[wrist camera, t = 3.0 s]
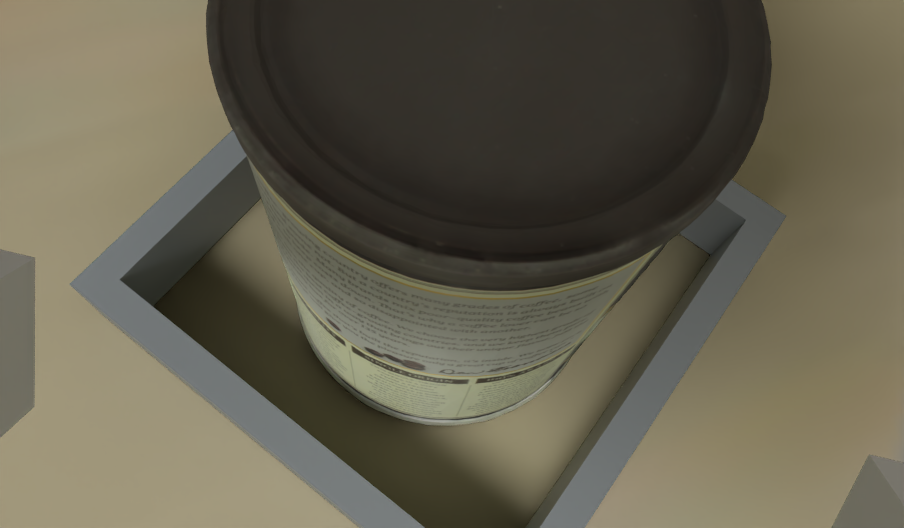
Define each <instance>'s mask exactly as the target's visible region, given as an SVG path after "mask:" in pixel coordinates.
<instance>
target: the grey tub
mask: <svg viewBox="0 0 904 528" xmlns="http://www.w3.org/2000/svg"><path fill="white" fill-rule="evenodd" d="M260 198H261V196H260V193H259V190H258V187H257V184H256V181H255V178H254V175H253V172H252V169H251V167H250V164H249V161H248V158H247V155H246V153H245V152H244V150H243V148H242V147H241V145H240V143H239V141H238V139H237V137H236V135H235V133H234V131H233V130H232V131H231V132H230V133H229V134H228V135H227V136H226V137H225V138H224V139H223V140H221V141H220V142H219V143H218V144H217V145H216V146H215V147H214V148H213V149H212V150H211V151H210V152H209V153H208V154H207V155H206V156H205V157H203V158H202V159H201V160H200V161H199V162H198V163H197V164H196V165H195V166H194V167H193V168H192V169H191V170H190V171H189V172H188V173H187V174H185V175H184V176H183V177H182V178H181V179H180V180H179V181H178V182H177V183H176V184H175V185H174V186H173V187H172V188H171V189H170V190H169V191H168V192H166V193H165V194H164V195H163V196H162V197H161V198H160V199H159V200H158V201H157V202H156V203H155V204H154V205H153V206H152V207H151V208H150V209H148V210H147V211H146V212H145V213H144V214H143V215H142V216H141V217H140V218H139V219H138V220H137V221H136V222H135V223H134V224H133V225H132V226H130V227H129V228H128V229H127V230H126V231H125V232H124V233H123V234H122V235H121V236H120V237H119V238H118V239H117V240H116V241H115V242H114V243H112V244H111V245H110V246H109V247H108V248H107V249H106V250H105V251H104V252H103V253H102V254H101V255H100V256H99V257H98V258H97V259H96V260H95V261H93V262H92V263H91V264H90V265H89V266H88V267H87V268H86V269H85V270H84V271H83V272H82V273H81V274H80V275H79V276H78V277H77V278H75V279H74V280H73V281H72V282H71V283H70V285H71V286H72V287H73V288H74V289H75V290H76V291H77V292H78V293H79V294H80V295H81V296H83V297H84V298H85V299H86V300H87V301H88V302H89V303H90V304H91V305H92V306H93V307H94V308H95V309H97V310H98V311H99V312H100V313H101V314H102V315H103V316H104V317H105V318H107V319H108V320H109V321H110V322H111V323H113V324H114V325H115V326H116V327H117V328H119V329H120V330H121V331H122V332H123V333H125V334H126V335H127V336H128V337H130V338H131V339H132V340H133V341H134V342H136V343H137V344H138V345H139V346H140V347H142V348H143V349H144V350H145V351H146V352H148V353H149V354H150V355H151V356H152V357H154V358H155V359H156V360H157V361H159V362H160V363H161V364H162V365H163V366H165V367H166V368H167V369H168V370H169V371H171V372H172V373H173V374H174V375H175V376H177V377H178V378H179V379H180V380H181V381H183V382H184V383H185V384H186V385H188V386H189V387H190V388H191V389H192V390H194V391H195V392H196V393H197V394H198V395H200V396H201V397H202V398H203V399H204V400H206V401H207V402H208V403H209V404H211V405H212V406H213V407H214V408H215V409H217V410H218V411H219V412H220V413H221V414H223V415H224V416H225V417H226V418H227V419H229V420H230V421H231V422H232V423H233V424H235V425H236V426H237V427H238V428H240V429H241V430H242V431H243V432H244V433H246V434H247V435H248V436H249V437H250V438H252V439H253V440H254V441H255V442H256V443H258V444H259V445H260V446H261V447H263V448H264V449H265V450H266V451H267V452H269V453H270V454H271V455H272V456H273V457H275V458H276V459H277V460H278V461H279V462H281V463H282V464H283V465H284V466H285V467H287V468H288V469H289V470H290V471H292V472H293V473H294V474H295V475H296V476H298V477H299V478H300V479H301V480H302V481H304V482H305V483H306V484H307V485H308V486H310V487H311V488H312V489H313V490H314V491H316V492H317V493H318V494H319V495H321V496H322V497H323V498H324V499H325V500H327V501H328V502H329V503H330V504H331V505H333V506H334V507H335V508H336V509H337V510H339V511H340V512H341V513H342V514H344V515H345V516H346V517H347V518H348V519H350V520H351V521H352V522H353V523H354V524H356V525H357V526H358V527H359V528H425V527H423V526H422V525H421V524H420V523H419V522H417V521H416V520H415V519H414V518H412V517H411V516H410V515H409V514H407V513H406V512H405V511H404V510H403V509H401V508H400V507H399V506H398V505H396V504H395V503H394V502H393V501H391V500H390V499H389V498H388V497H387V496H385V495H384V494H383V493H382V492H380V491H379V490H378V489H377V488H375V487H374V486H373V485H372V484H371V483H369V482H368V481H367V480H366V479H364V478H363V477H362V476H361V475H359V474H358V473H357V472H356V471H355V470H353V469H352V468H351V467H350V466H348V465H347V464H346V463H345V462H343V461H342V460H341V459H340V458H339V457H337V456H336V455H335V454H334V453H332V452H331V451H330V450H329V449H327V448H326V447H325V446H324V445H323V444H321V443H320V442H319V441H318V440H316V439H315V438H314V437H313V436H311V435H310V434H309V433H308V432H307V431H305V430H304V429H303V428H302V427H300V426H299V425H298V424H297V423H295V422H294V421H293V420H292V419H291V418H289V417H288V416H287V415H286V414H284V413H283V412H282V411H281V410H279V409H278V408H277V407H276V406H274V405H273V404H272V403H271V402H270V401H268V400H267V399H266V398H265V397H263V396H262V395H261V394H260V393H258V392H257V391H256V390H255V389H254V388H252V387H251V386H250V385H249V384H247V383H246V382H245V381H244V380H242V379H241V378H240V377H239V376H238V375H236V374H235V373H234V372H233V371H231V370H230V369H229V368H228V367H226V366H225V365H224V364H223V363H222V362H220V361H219V360H218V359H217V358H215V357H214V356H213V355H212V354H210V353H209V352H208V351H207V350H206V349H204V348H203V347H202V346H201V345H199V344H198V343H197V342H196V341H194V340H193V339H192V338H191V337H190V336H188V335H187V334H186V333H185V332H183V331H182V330H181V329H180V328H178V327H177V326H176V325H175V324H174V323H172V322H171V321H170V320H169V319H167V318H166V317H165V316H164V315H162V314H161V313H160V312H159V311H158V310H156V309H155V308H154V307H153V306H154V305H155V304H156V303H157V302H158V301H159V300H160V299H161V298H162V297H163V296H164V295H165V294H166V293H167V292H168V291H169V290H170V289H171V288H172V287H173V286H174V285H175V284H176V283H177V282H178V281H179V280H180V279H181V278H182V277H183V276H184V275H185V274H186V273H187V272H188V271H189V270H190V269H191V268H192V267H193V266H194V265H195V264H196V263H197V262H198V261H199V260H200V259H201V258H202V257H203V256H204V255H205V254H206V253H207V252H208V251H209V250H210V248H211V247H212V246H213V245H214V244H215V243H216V242H217V241H218V240H219V239H220V238H221V237H222V236H223V235H224V234H225V233H226V232H227V231H228V230H229V229H230V228H231V227H232V226H233V225H234V224H235V223H236V222H237V221H238V220H239V219H240V218H241V217H242V216H243V215H244V214H245V213H246V212H247V211H248V210H249V209H250V208H251V207H252V206H253V205H254V204H255V203H256V202H257V201H258V200H259V199H260ZM785 218H786V215H784V214H783V213H781V212H780V211H778V210H777V209H775V208H774V207H772V206H770V205H769V204H767V203H766V202H764V201H763V200H761V199H760V198H758V197H757V196H755V195H754V194H752V193H751V192H749V191H748V190H746V189H745V188H743V187H742V186H740V185H739V184H737V183H736V182H734V181H733V180H731V181H730V182H729V183H728V184H727V186H726V187H725V188H724V189H723V190H722V192H721V193H720V194H719V195H718V197H717V198H716V199H715V200H714V202H713V203H712V204H711V205H710V206H709V207H708V208H707V209H706V210H705V211H704V212H703V213H702V214H701V215H700V216H699V217H698V218H697V219H696V220H694V221H693V222H692V223H691V224H690V225H689V226H688V227H687V228H685V229H684V230H683V231H681V232H680V233H679V234H681V235H682V236H684V237H685V238H687V239H688V240H690V241H691V242H693V243H694V244H696V245H697V246H698V247H700V248H701V249H703V250H704V251H706V252H707V253H709V254H710V257H709V258H708V260H707V261H706V263H705V264H704V266H703V267H702V269H701V270H700V271H699V273H698V274H697V276H696V277H695V279H694V280H693V282H692V283H691V285H690V286H689V288H688V289H687V291H686V292H685V294H684V295H683V296H682V298H681V299H680V301H679V302H678V304H677V305H676V307H675V308H674V310H673V311H672V313H671V314H670V316H669V317H668V319H667V320H666V322H665V323H664V324H663V326H662V327H661V329H660V330H659V332H658V333H657V335H656V336H655V338H654V339H653V341H652V342H651V344H650V345H649V347H648V348H647V350H646V351H645V352H644V354H643V355H642V357H641V358H640V360H639V361H638V363H637V364H636V366H635V367H634V369H633V370H632V372H631V373H630V375H629V376H628V377H627V379H626V380H625V382H624V383H623V385H622V386H621V388H620V389H619V391H618V392H617V394H616V395H615V397H614V398H613V400H612V401H611V403H610V404H609V405H608V407H607V408H606V410H605V411H604V413H603V414H602V416H601V417H600V419H599V420H598V422H597V423H596V425H595V426H594V428H593V429H592V430H591V432H590V433H589V435H588V436H587V438H586V439H585V441H584V442H583V444H582V445H581V447H580V448H579V450H578V451H577V453H576V454H575V456H574V457H573V458H572V460H571V461H570V463H569V464H568V466H567V467H566V469H565V470H564V472H563V473H562V475H561V476H560V478H559V479H558V481H557V482H556V483H555V485H554V486H553V488H552V489H551V491H550V492H549V494H548V495H547V497H546V498H545V500H544V501H543V503H542V504H541V506H540V507H539V509H538V510H537V511H536V513H535V514H534V516H533V517H532V519H531V520H530V522H529V523H528V525H527V526H526V528H585V526H586V525H587V523H588V522H589V520H590V519H591V517H592V516H593V514H594V512H595V511H596V509H597V508H598V506H599V505H600V503H601V502H602V500H603V499H604V497H605V495H606V494H607V492H608V491H609V489H610V488H611V486H612V485H613V483H614V482H615V480H616V478H617V477H618V475H619V474H620V472H621V471H622V469H623V468H624V466H625V465H626V463H627V461H628V460H629V458H630V457H631V455H632V454H633V452H634V451H635V449H636V448H637V446H638V445H639V443H640V441H641V440H642V438H643V437H644V435H645V434H646V432H647V431H648V429H649V428H650V426H651V424H652V423H653V421H654V420H655V418H656V417H657V415H658V414H659V412H660V411H661V409H662V407H663V406H664V404H665V403H666V401H667V400H668V398H669V397H670V395H671V394H672V392H673V390H674V389H675V387H676V386H677V384H678V383H679V381H680V380H681V378H682V377H683V375H684V373H685V372H686V370H687V369H688V367H689V366H690V364H691V363H692V361H693V360H694V358H695V357H696V355H697V353H698V352H699V350H700V349H701V347H702V346H703V344H704V343H705V341H706V340H707V338H708V336H709V335H710V333H711V332H712V330H713V329H714V327H715V326H716V324H717V323H718V321H719V319H720V318H721V316H722V315H723V313H724V312H725V310H726V309H727V307H728V306H729V304H730V302H731V301H732V299H733V298H734V296H735V295H736V293H737V292H738V290H739V289H740V287H741V286H742V284H743V282H744V281H745V279H746V278H747V276H748V275H749V273H750V272H751V270H752V269H753V267H754V265H755V264H756V262H757V261H758V259H759V258H760V256H761V255H762V253H763V252H764V250H765V248H766V247H767V245H768V244H769V242H770V241H771V239H772V238H773V236H774V235H775V233H776V231H777V230H778V228H779V227H780V225H781V224H782V222H783V221H784V219H785Z"/></svg>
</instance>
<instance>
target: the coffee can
mask: <svg viewBox="0 0 904 528" xmlns="http://www.w3.org/2000/svg"><path fill="white" fill-rule="evenodd" d="M206 32H207V46H208V55H209V63H210V67H211V70H212V74H213V78H214V82H215V86H216V89H217V92H218V95H219V98H220V101H221V103H222V106H223V109H224V111H225V114H226V116H227V118H228V120H229V123H230V125H231V127H232V129H233V131H234V133H235V135H236V137H237V139H238V141H239V143H240V145H241V147H242V148H243V150H244V152H245V153H246V155H247V158H248V161H249V164H250V167H251V169H252V172H253V175H254V178H255V181H256V184H257V187H258V190H259V193H260V196H261V199H262V202H263V204H264V207H265V210H266V213H267V216H268V219H269V222H270V225H271V228H272V231H273V234H274V237H275V240H276V243H277V246H278V249H279V252H280V255H281V258H282V261H283V264H284V266H285V269H286V272H287V275H288V278H289V281H290V284H291V287H292V290H293V293H294V296H295V298H296V301H297V309H298V314H299V317H300V321H301V325H302V327H303V330H304V332H305V335H306V337H307V339H308V341H309V343H310V346H311V348H312V349H313V351H314V353H315V354H316V356H317V358H318V359H319V360H320V362H321V363H322V365H323V366H324V367H325V369H326V370H327V371H328V372H329V373H330V375H331V376H332V377H333V378H334V379H335V380H336V381H337V382H338V383H339V384H340V385H341V386H342V387H343V388H344V389H346V390H347V391H348V392H349V393H351V394H352V395H353V396H355V397H356V398H357V399H359V400H360V401H361V402H363V403H364V404H366V405H367V406H369V407H371V408H373V409H375V410H377V411H380V412H383V413H385V414H388V415H390V416H393V417H395V418H398V419H401V420H405V421H409V422H414V423H419V424H424V425H440V426H452V425H464V424H471V423H476V422H483V421H489V420H491V419H494V418H496V417H498V416H500V415H503V414H505V413H508V412H510V411H513V410H515V409H517V408H518V407H520V406H522V405H523V404H525V403H527V402H528V401H530V400H532V399H533V398H534V397H536V396H537V395H538V394H539V393H541V392H542V391H543V390H544V389H545V388H546V387H547V386H548V385H550V384H551V383H552V381H553V380H554V379H555V378H556V377H557V376H558V374H559V373H560V372H561V371H562V370H563V368H564V367H565V366H566V364H567V363H568V361H569V359H570V358H571V356H572V355H573V354H574V353H575V352H576V350H577V349H578V348H579V347H580V346H581V344H582V343H583V342H584V341H585V339H586V338H587V337H588V336H589V335H590V334H591V333H592V331H593V330H594V329H595V328H596V327H597V325H598V324H599V323H600V322H601V321H602V319H603V318H604V317H605V316H606V315H607V314H608V312H609V311H610V310H611V309H612V308H613V307H614V305H615V304H616V303H617V302H618V301H619V300H620V299H621V298H622V296H623V295H624V294H625V293H626V292H627V290H628V289H629V288H630V287H631V286H632V285H633V284H634V282H635V281H636V280H637V278H638V277H639V276H640V275H641V274H642V273H643V272H644V271H645V270H646V269H647V267H648V266H649V264H650V263H651V262H652V261H653V260H654V258H655V257H656V256H657V255H658V254H659V253H660V252H661V250H662V249H663V248H664V246H665V245H666V244H667V243H668V241H669V240H670V239H672V238H673V237H674V236H676V235H677V234H679V233H680V232H681V231H683V230H684V229H685V228H687V227H688V226H689V225H690V224H691V223H692V222H693V221H694V220H696V219H697V218H698V217H699V216H700V215H701V214H702V213H703V212H704V211H705V210H706V209H707V208H708V207H709V206H710V205H711V204H712V203H713V202H714V200H715V199H716V198H717V197H718V195H719V194H720V193H721V192H722V190H723V189H724V188H725V187H726V186H727V184H728V183H729V182H730V181H731V179H732V178H733V177H734V176H735V175H736V173H737V171H738V170H739V168H740V167H741V165H742V163H743V162H744V160H745V159H746V156H747V154H748V152H749V150H750V148H751V146H752V144H753V142H754V140H755V138H756V135H757V133H758V130H759V128H760V125H761V123H762V120H763V115H764V109H765V106H766V103H767V100H768V94H769V86H770V78H771V66H772V63H771V48H770V45H771V41H770V35H769V30H768V24H767V20H766V15H765V10H764V6H763V3H762V1H761V0H208V5H207V12H206Z"/></svg>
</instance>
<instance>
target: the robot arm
mask: <svg viewBox="0 0 904 528" xmlns="http://www.w3.org/2000/svg"><path fill="white" fill-rule="evenodd" d="M34 385H35V258H34V257H30V256H26V255H22V254H17V253H13V252H9V251H5V250H0V437H2V436H3V435H4V434H5V433H6V432H7V431H8V430H9V429H10V428H11V427H13V426H14V425H15V424H16V423H17V422H18V421H19V420H20V419H21V418H22V417H24V416H25V415H26V414H27V413H28V412H29V411H30V410H31V409H32V408H33V407H34ZM832 528H904V463H903V462H899V461H895V460H891V459H886V458H882V457H878V456H874V455H869V456H868V458H867V459H866V461H865V463H864V465H863V467H862V469H861V471H860V473H859V475H858V477H857V479H856V481H855V483H854V485H853V487H852V489H851V491H850V493H849V495H848V496H847V498H846V500H845V502H844V504H843V506H842V508H841V510H840V512H839V514H838V516H837V518H836V520H835V522H834V524H833V526H832Z"/></svg>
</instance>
